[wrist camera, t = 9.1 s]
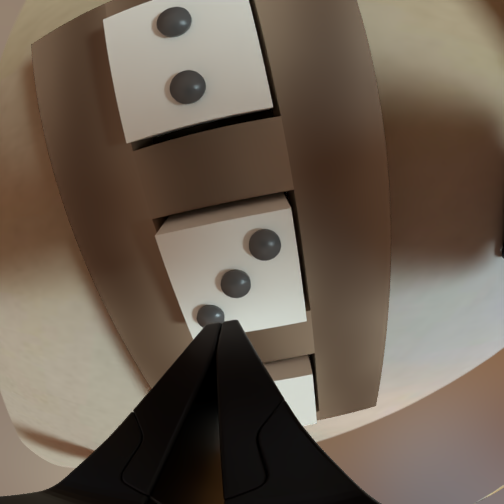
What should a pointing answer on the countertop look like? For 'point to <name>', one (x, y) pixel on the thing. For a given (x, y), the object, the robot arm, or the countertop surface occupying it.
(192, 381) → the robot arm
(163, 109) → the key two dots
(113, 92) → the key panel
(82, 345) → the countertop surface
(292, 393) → the key one dot
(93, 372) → the countertop surface
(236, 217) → the key three dots
